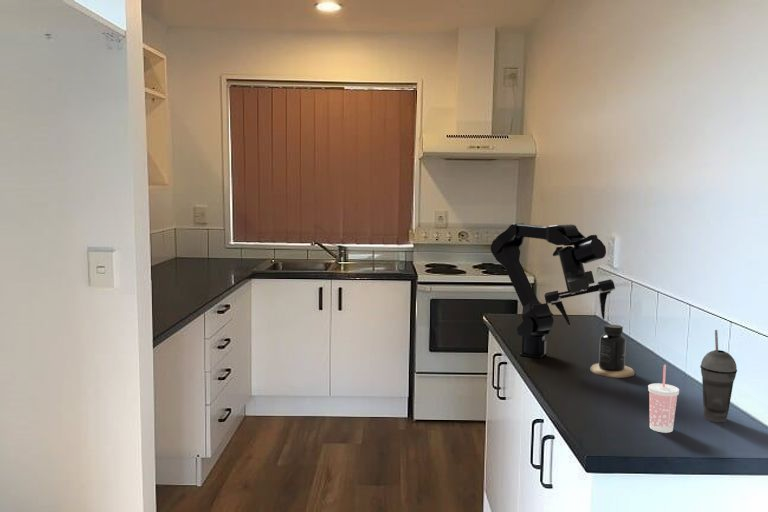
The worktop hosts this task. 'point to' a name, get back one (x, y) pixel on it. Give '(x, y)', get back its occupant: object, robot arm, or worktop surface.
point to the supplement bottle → (612, 348)
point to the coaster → (612, 372)
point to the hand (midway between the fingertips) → (586, 322)
